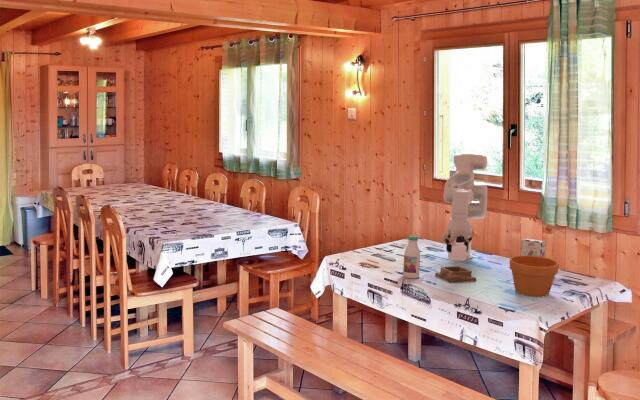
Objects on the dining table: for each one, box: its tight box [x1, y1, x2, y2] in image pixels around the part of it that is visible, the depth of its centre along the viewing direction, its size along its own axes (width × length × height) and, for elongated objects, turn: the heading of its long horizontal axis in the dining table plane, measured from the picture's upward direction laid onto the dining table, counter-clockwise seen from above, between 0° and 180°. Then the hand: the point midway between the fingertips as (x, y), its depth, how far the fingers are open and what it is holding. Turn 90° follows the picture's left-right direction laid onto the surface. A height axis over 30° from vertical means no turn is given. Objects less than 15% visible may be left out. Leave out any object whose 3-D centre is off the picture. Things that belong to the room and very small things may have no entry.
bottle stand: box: [434, 265, 477, 284], centre depth 311 cm, size 14×14×4 cm
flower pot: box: [509, 255, 560, 298], centre depth 289 cm, size 21×21×15 cm
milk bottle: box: [402, 235, 421, 279], centre depth 310 cm, size 8×8×20 cm
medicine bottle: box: [447, 236, 467, 262], centre depth 309 cm, size 7×7×12 cm
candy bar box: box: [520, 237, 547, 258], centre depth 329 cm, size 11×5×16 cm, turn 47°
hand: (457, 251), depth 310 cm, fingers closed on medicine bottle, 8 cm apart
